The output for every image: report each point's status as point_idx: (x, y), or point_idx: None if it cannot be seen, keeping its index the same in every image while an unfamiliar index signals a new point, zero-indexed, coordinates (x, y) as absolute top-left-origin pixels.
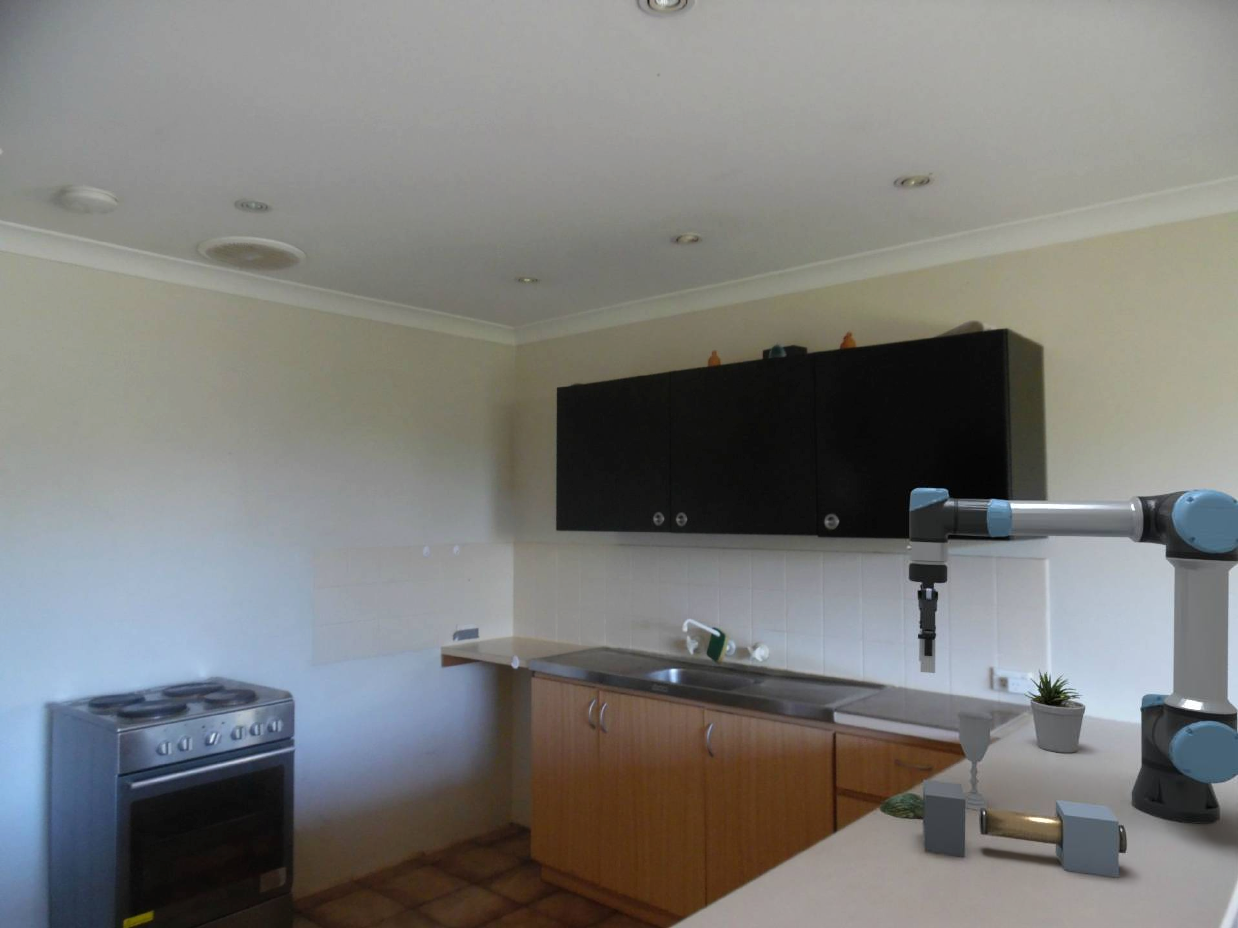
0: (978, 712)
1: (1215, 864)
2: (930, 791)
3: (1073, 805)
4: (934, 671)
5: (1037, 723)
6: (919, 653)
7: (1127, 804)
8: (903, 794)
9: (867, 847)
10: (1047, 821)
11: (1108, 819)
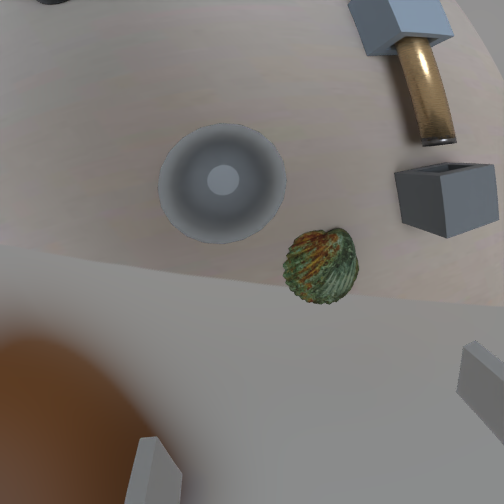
0: (159, 182)
1: None
2: (487, 215)
3: (408, 13)
4: (479, 345)
5: None
6: (179, 500)
7: (74, 2)
8: (334, 278)
9: (464, 266)
10: (433, 56)
11: None
